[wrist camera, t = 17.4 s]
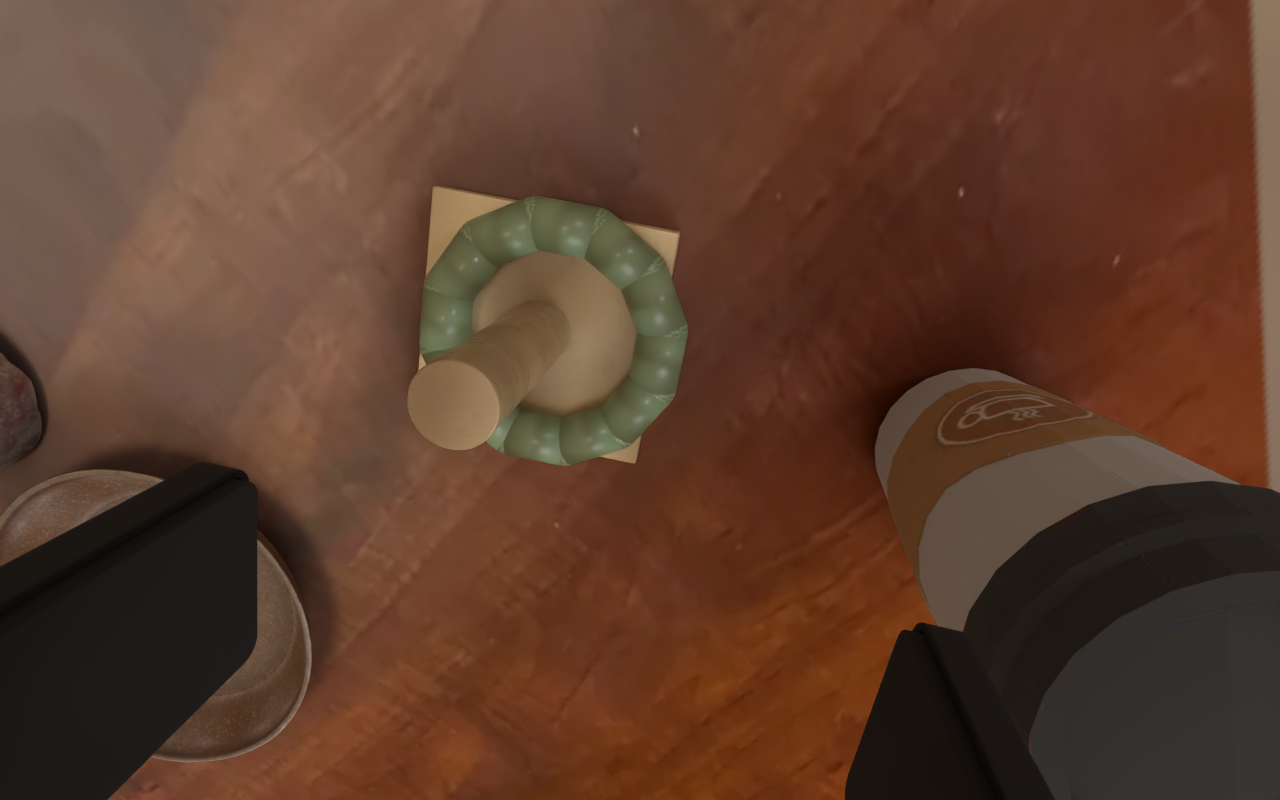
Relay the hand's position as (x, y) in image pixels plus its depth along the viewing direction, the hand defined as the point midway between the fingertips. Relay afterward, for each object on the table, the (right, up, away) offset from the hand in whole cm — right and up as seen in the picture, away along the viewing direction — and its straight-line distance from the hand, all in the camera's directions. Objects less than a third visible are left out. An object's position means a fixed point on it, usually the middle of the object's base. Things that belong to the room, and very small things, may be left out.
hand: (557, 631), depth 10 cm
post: (-3, +6, +17) cm, 18 cm away
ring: (-2, +5, +15) cm, 16 cm away
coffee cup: (+13, +2, +17) cm, 22 cm away
